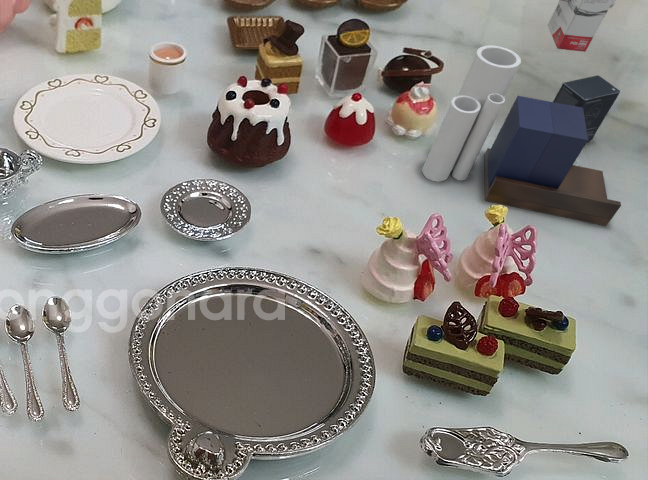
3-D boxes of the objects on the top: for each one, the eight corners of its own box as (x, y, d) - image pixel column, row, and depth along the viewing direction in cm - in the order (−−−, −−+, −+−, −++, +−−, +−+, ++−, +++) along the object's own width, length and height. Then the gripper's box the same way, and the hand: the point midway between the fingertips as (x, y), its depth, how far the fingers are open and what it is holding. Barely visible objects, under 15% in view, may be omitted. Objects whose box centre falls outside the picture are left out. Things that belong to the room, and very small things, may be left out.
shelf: (598, 177, 131) (612, 156, 127) (606, 226, 122) (621, 205, 119) (484, 154, 134) (494, 133, 131) (484, 200, 126) (495, 179, 122)
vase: (438, 142, 136) (482, 40, 121) (478, 156, 134) (528, 55, 118) (418, 175, 130) (462, 72, 115) (459, 191, 127) (510, 88, 112)
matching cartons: (548, 166, 130) (583, 107, 121) (551, 199, 124) (588, 140, 115) (487, 154, 132) (517, 95, 123) (488, 186, 126) (519, 126, 117)
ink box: (586, 53, 126) (624, -16, 117) (556, 49, 127) (591, -19, 118) (575, 27, 132) (611, -41, 123) (546, 24, 132) (579, -44, 123)
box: (569, 124, 141) (598, 74, 133) (591, 141, 137) (622, 91, 129) (535, 131, 139) (562, 81, 131) (556, 149, 135) (585, 99, 127)
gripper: (549, -101, 121) (525, -14, 123) (689, -82, 117) (662, 7, 119) (536, -83, 127) (513, -1, 129) (667, -65, 124) (643, 20, 125)
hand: (586, 3), depth 124 cm, fingers closed on ink box, 5 cm apart
